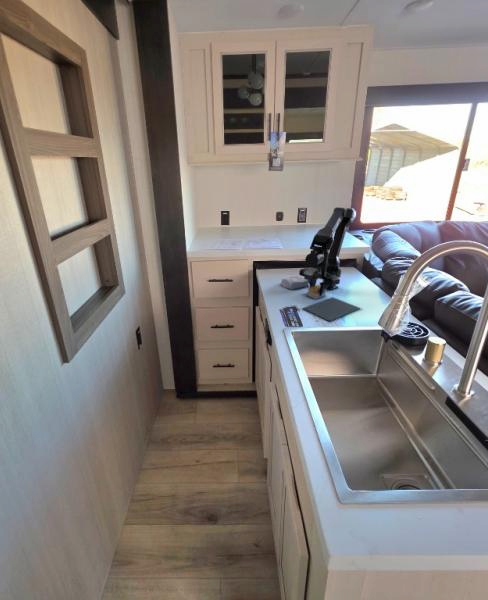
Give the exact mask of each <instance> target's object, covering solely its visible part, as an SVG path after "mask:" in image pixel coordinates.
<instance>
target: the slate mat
mask: <svg viewBox="0 0 488 600" xmlns="http://www.w3.org/2000/svg"><path fill="white" fill-rule="evenodd" d="M302 310H304V311H306V312H307V313H310V314H312V315H315V316H317V317H318V318H321V319H323V320H325V321H328V322H332V321H335V320H337V319H339V318H342V317H344V316H347V315H349V314H351V313H354V312H356V311H359V310H361V308H360V307H358V306H355V305H353V304H351V303H348V302H346V301H343V300H340V299H338V298H335V297H330V298H327V299H325V300H321V301H319V302H316V303H314V304H311V305H308V306H305V307H302Z"/></svg>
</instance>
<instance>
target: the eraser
mask: <svg viewBox="0 0 488 600" xmlns="http://www.w3.org/2000/svg"><path fill="white" fill-rule="evenodd" d="M320 287H321V286H320V284H316V285H315V286H313V287H310V286H309V287H308V288H307V297H308V298H310V299H311V298H312V299H314V300H317V299H320V298H323V297H325V296H326V292H327V289H326V290H325V291H324V293H323V294H322V295H321V296H320Z"/></svg>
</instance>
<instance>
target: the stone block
mask: <svg viewBox="0 0 488 600" xmlns="http://www.w3.org/2000/svg"><path fill="white" fill-rule="evenodd" d="M280 285H281V286H282V287H284V288H286V289H289V290H296V289H301V288H305V287H309V285H310V284H309V281H308V280H307V279H304V276H301V275H299V276H298V275H294V276H290V277H288V278H287V277H286V278H281V281H280Z"/></svg>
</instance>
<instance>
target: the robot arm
mask: <svg viewBox="0 0 488 600" xmlns="http://www.w3.org/2000/svg"><path fill="white" fill-rule="evenodd" d="M356 216H357V211H356V210H355V208H353V207H352V208H351V207H339V206H338V207H334V209H333V212H332V214H331V216H330V217H329V219H328V220H327V222H326V223H325V225H324V227H322V228H320V229H319V230H318V231H316V233H315V234H314V237H313V239H312V241H311V243H310V247H309V250H310V253H308V254H307V255H306V256H305V258H304V261H305V264H306V265H307V266H308V267H303V268H300V270H299V272H298V275H299V276H300V277H304V279H307V280H308V281H309V284H308V285H309V288H310V287H313V286H317V280H322V281H321V282H319V284H318V285H320V286H321V287H320V296H321V295H322V294H323V293H324V291H325V290H326V291H327V290H328V291H332V290H335V289H337V288H338V287H339V286H337V285H339V284H340V283H341V276H342V270H341V267H340V266H341V262H340V259H339V256H340V253H341V251H342V246H343V243H344V240H345V235H346V233H347V229H348V228H349V227H350V226H351V225H352V224H353V222H354V220H355V218H356Z"/></svg>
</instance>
